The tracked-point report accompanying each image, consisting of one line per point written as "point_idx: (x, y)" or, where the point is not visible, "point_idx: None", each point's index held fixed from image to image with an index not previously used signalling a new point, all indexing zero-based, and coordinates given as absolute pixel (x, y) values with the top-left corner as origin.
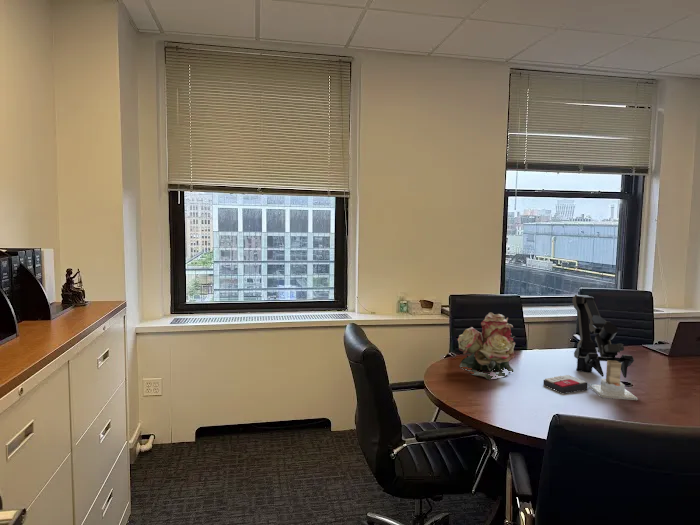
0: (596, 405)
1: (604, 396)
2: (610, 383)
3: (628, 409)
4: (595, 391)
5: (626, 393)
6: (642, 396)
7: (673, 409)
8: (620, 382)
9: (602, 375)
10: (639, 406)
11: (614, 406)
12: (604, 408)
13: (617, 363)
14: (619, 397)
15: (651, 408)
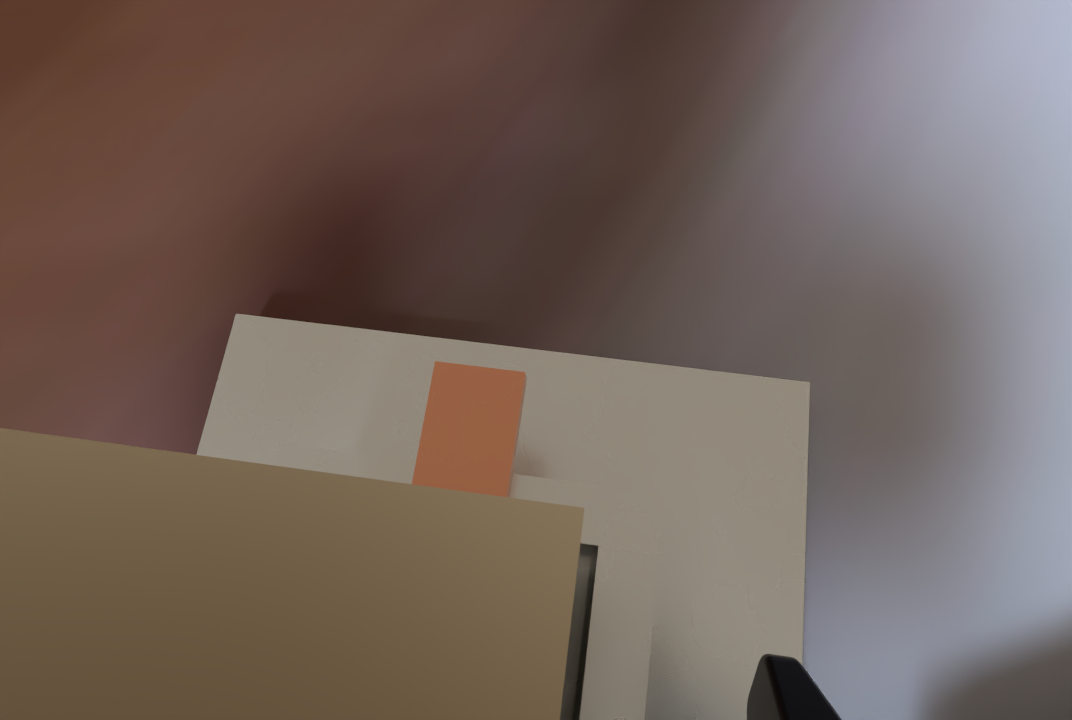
0: (1020, 96)
1: (763, 381)
2: None
3: (626, 9)
4: None
5: None
6: None
7: (13, 54)
8: None
9: (795, 673)
10: (401, 109)
11: (767, 83)
12: (945, 12)
13: (98, 446)
14: (519, 349)
15: (284, 61)
